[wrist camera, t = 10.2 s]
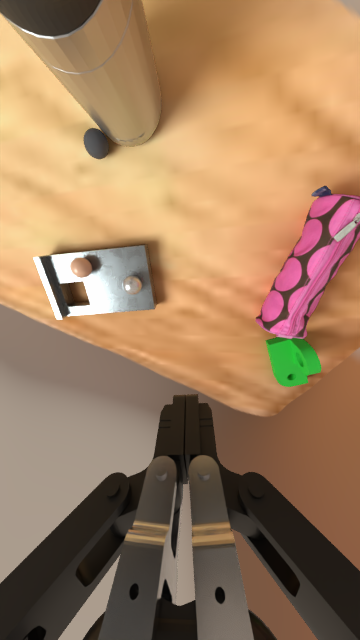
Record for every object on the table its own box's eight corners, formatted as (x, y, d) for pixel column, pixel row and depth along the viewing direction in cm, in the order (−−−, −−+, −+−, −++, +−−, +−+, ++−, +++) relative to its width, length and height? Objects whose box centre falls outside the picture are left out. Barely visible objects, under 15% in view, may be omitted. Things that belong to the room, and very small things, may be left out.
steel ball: (125, 271, 33) (120, 276, 31) (144, 275, 34) (141, 280, 31) (124, 289, 35) (119, 295, 32) (142, 292, 35) (139, 299, 32)
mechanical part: (265, 340, 41) (281, 363, 33) (295, 331, 40) (319, 354, 32) (275, 383, 45) (292, 412, 38) (303, 376, 44) (325, 405, 37)
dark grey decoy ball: (74, 139, 27) (91, 166, 29) (85, 128, 25) (103, 158, 27) (90, 130, 28) (105, 156, 30) (101, 119, 26) (117, 148, 28)
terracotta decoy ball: (74, 257, 33) (62, 259, 30) (92, 255, 33) (82, 257, 30) (80, 276, 34) (69, 280, 31) (97, 274, 34) (89, 278, 31)
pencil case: (297, 192, 30) (344, 175, 21) (355, 210, 31) (425, 201, 22) (244, 316, 39) (260, 342, 30) (290, 328, 39) (320, 357, 30)
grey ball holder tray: (49, 254, 36) (33, 257, 32) (147, 244, 34) (142, 245, 30) (69, 311, 40) (57, 319, 36) (156, 304, 38) (153, 312, 35)
